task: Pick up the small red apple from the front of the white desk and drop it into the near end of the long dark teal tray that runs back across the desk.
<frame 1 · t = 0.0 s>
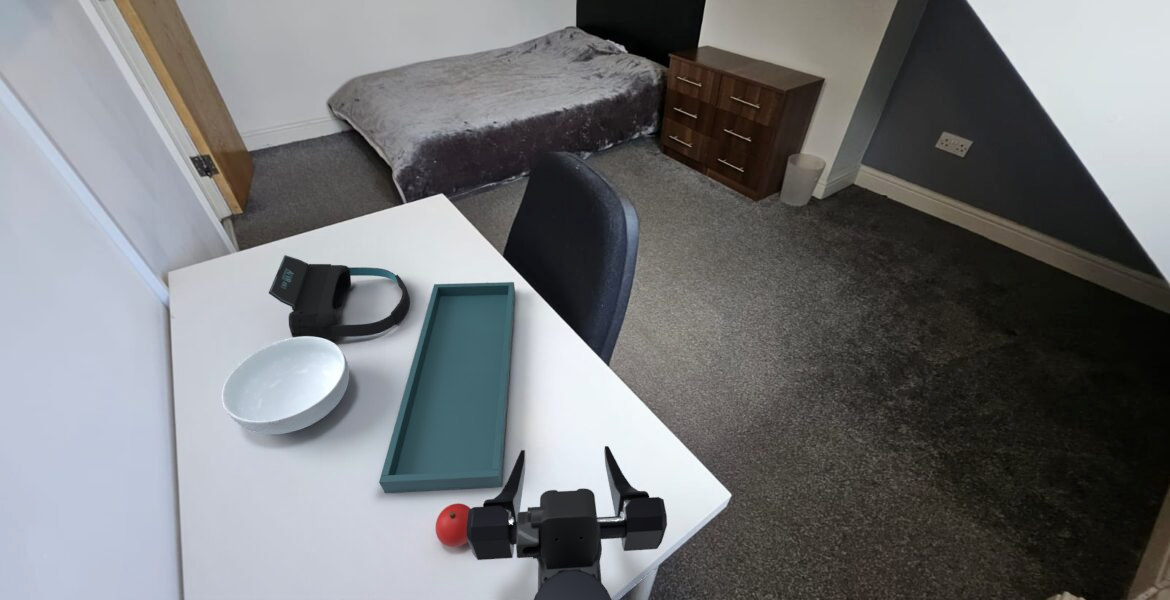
hand: (564, 449, 52), 17 cm above the table, tool horizontal, fingers open, 9 cm apart
tray: (462, 373, 81), on the table
virtual reality headset: (356, 311, 93), on the table
cereal bowl: (302, 403, 76), on the table
apple: (459, 533, 61), on the table
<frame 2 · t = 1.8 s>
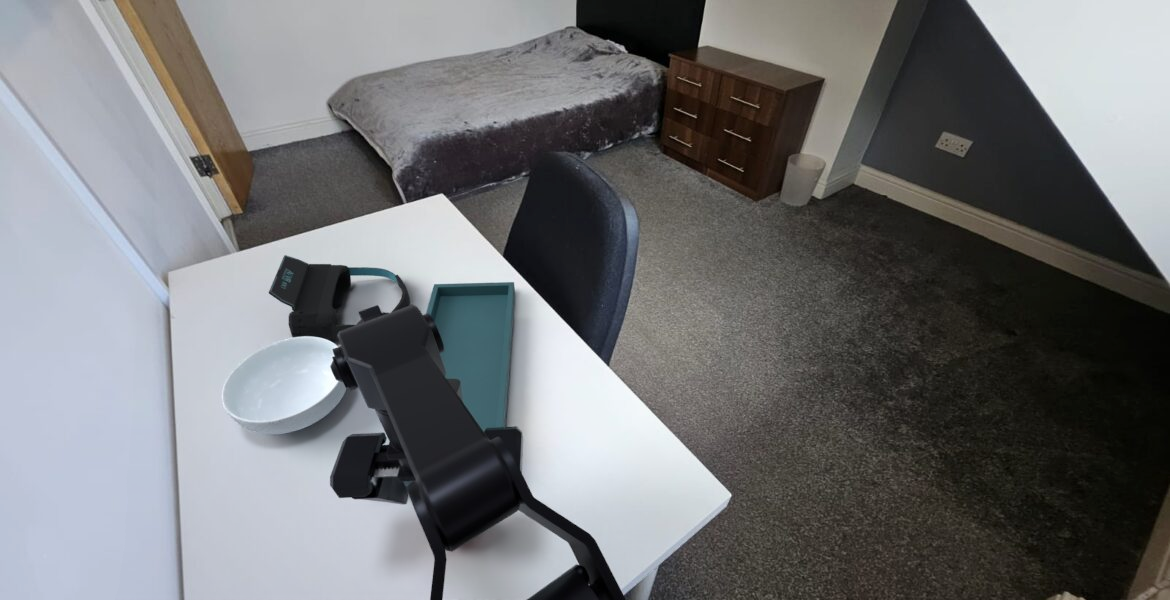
hand: (446, 497, 55), 10 cm above the table, tool pointing down, fingers open, 9 cm apart
nothing on the table moved.
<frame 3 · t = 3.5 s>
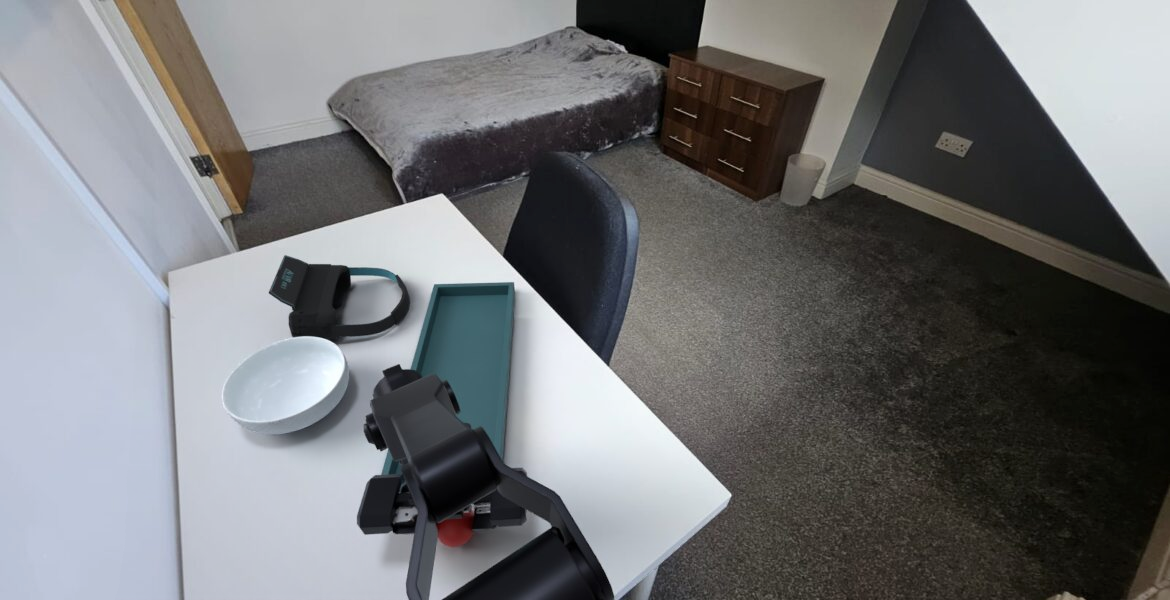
hand: (458, 529, 60), 1 cm above the table, tool pointing down, fingers closed on apple, 5 cm apart
apple: (459, 533, 61), on the table, touching gripper
everything else where it was.
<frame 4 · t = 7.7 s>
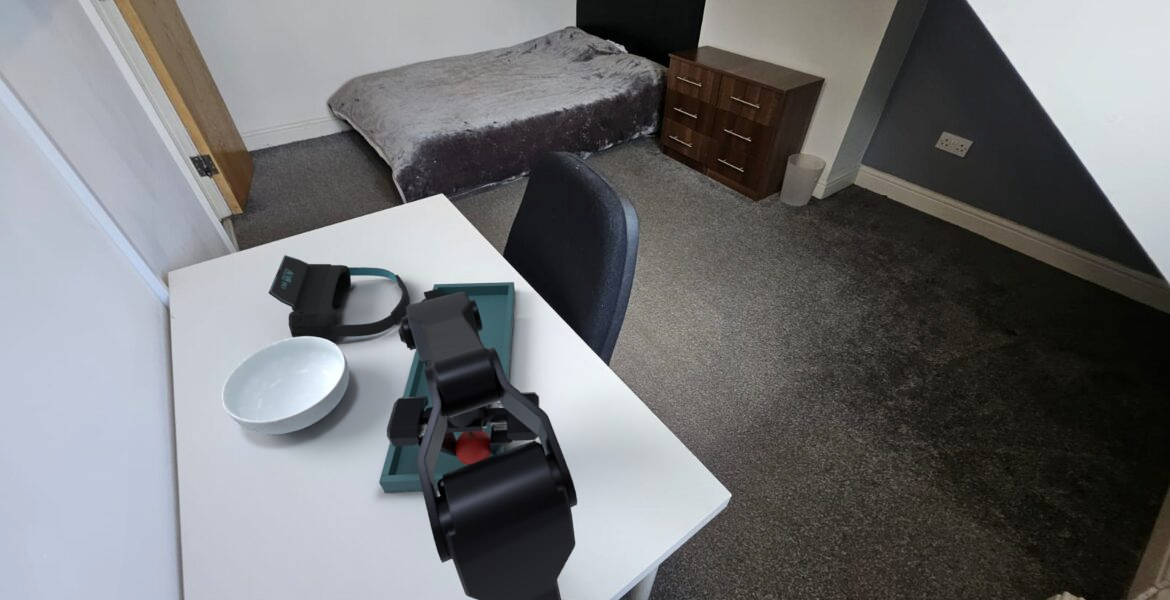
hand: (475, 452, 66), 3 cm above the table, tool pointing down, fingers closed on apple, 5 cm apart
apple: (476, 456, 67), point 2 cm above the table, touching gripper
everything else where it was.
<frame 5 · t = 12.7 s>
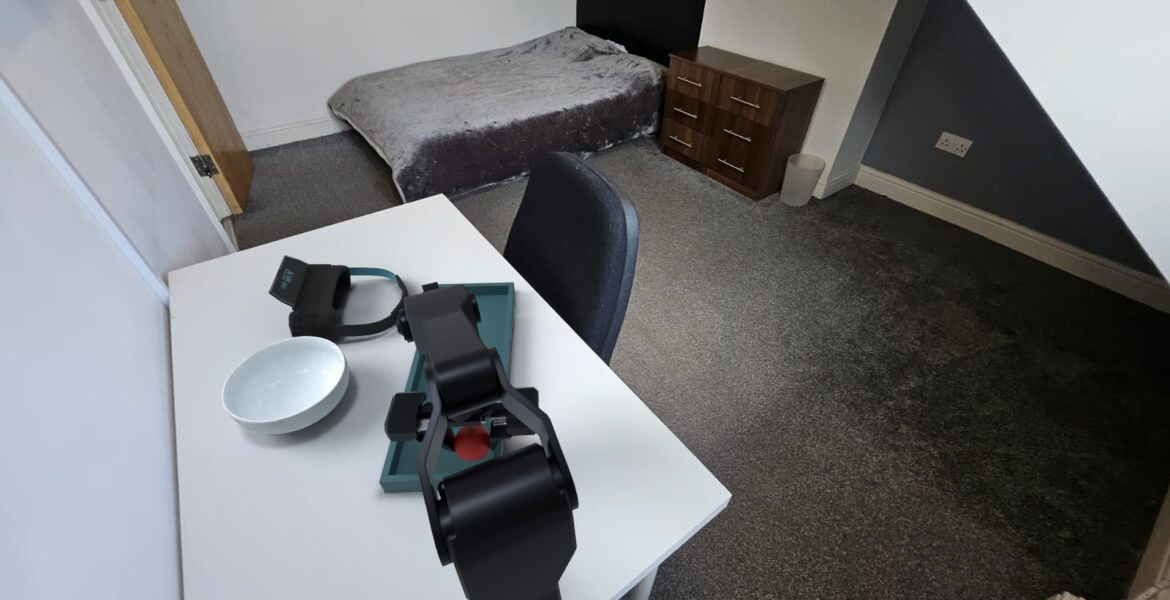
hand: (474, 448, 65), 4 cm above the table, tool pointing down, fingers closed on apple, 5 cm apart
apple: (475, 451, 66), point 3 cm above the table, touching gripper
everything else where it was.
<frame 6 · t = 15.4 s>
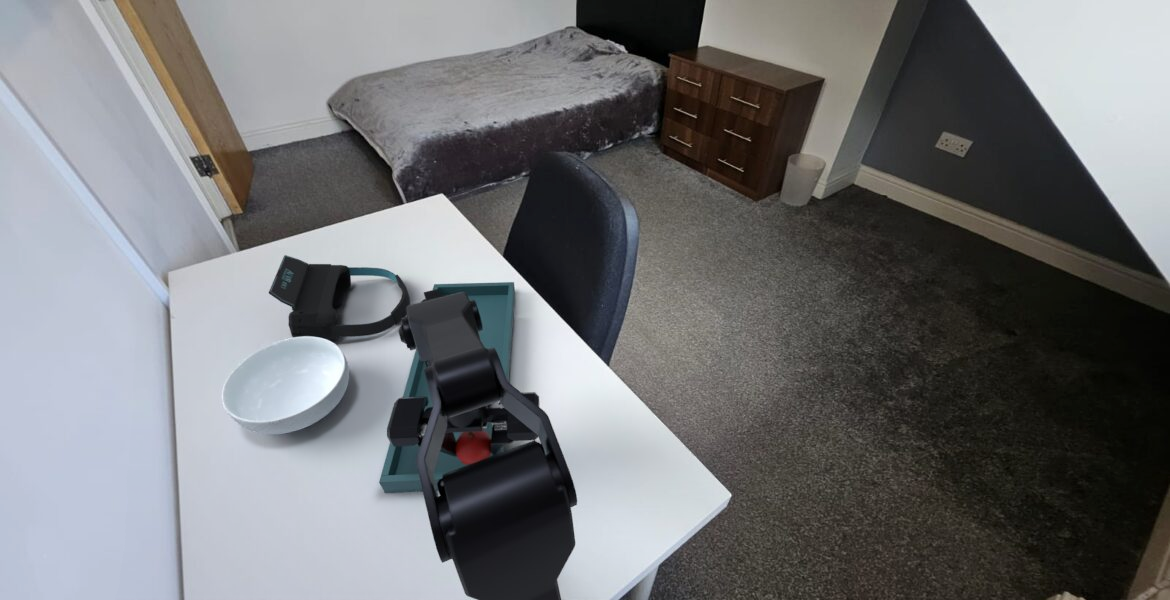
hand: (475, 452, 66), 3 cm above the table, tool pointing down, fingers closed on apple, 5 cm apart
apple: (476, 456, 67), point 2 cm above the table, touching gripper
everything else where it was.
when the fingers open (5 cm above the table, at t = 17.4 s): apple drops 3 cm, resting on tray.
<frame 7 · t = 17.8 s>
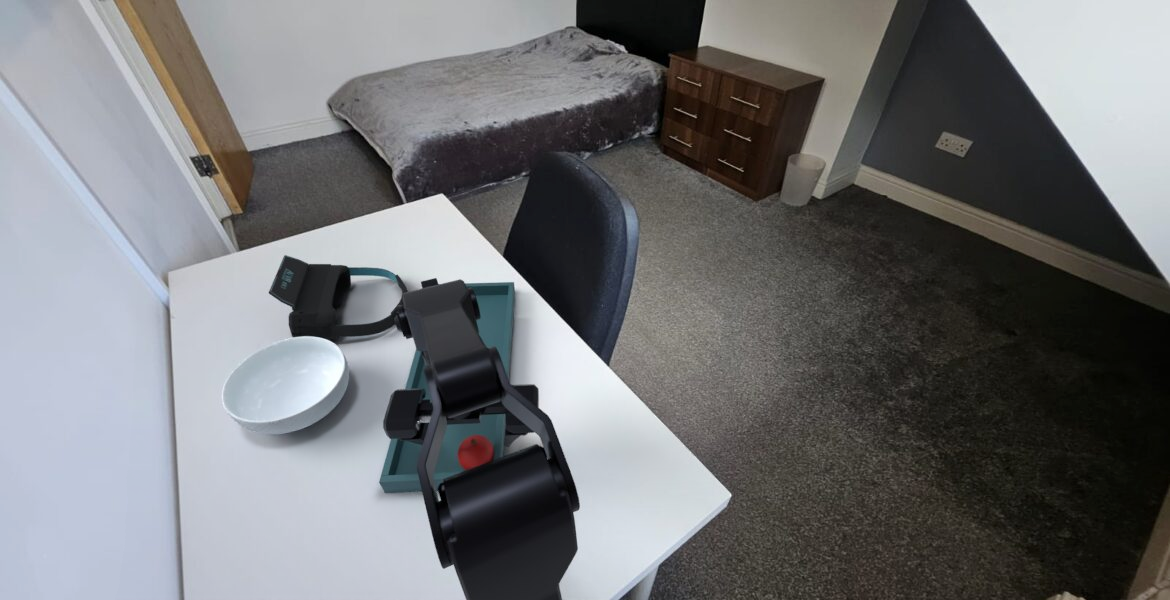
hand: (473, 445, 65), 5 cm above the table, tool pointing down, fingers open, 9 cm apart
apple: (478, 462, 68), resting on tray
everything else where it was.
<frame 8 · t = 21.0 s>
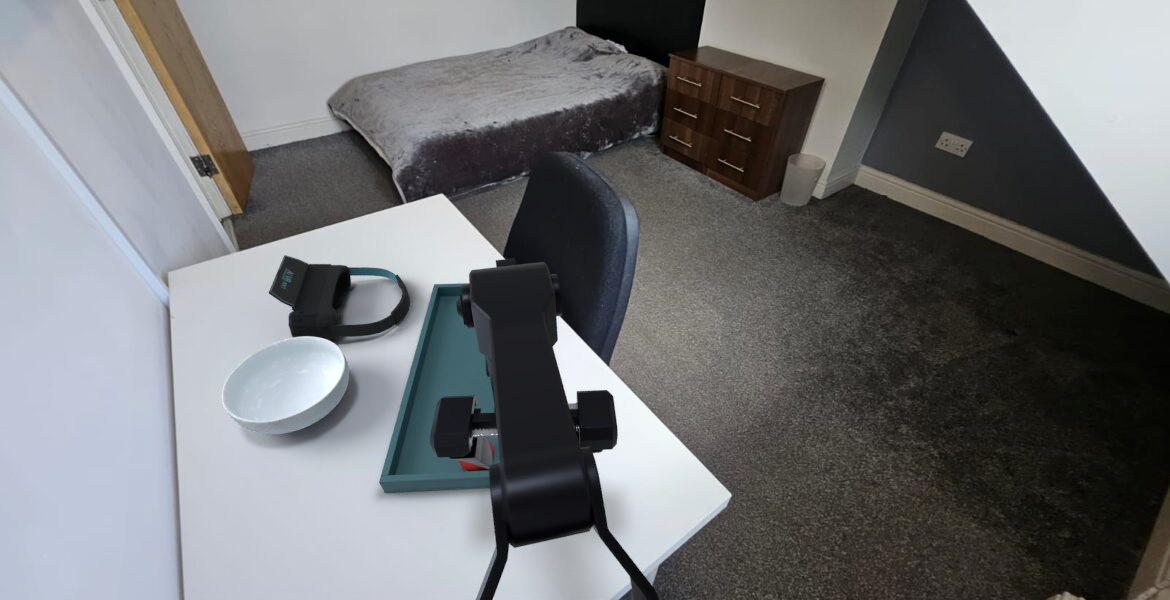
hand: (530, 463, 55), 13 cm above the table, tool pointing down, fingers open, 9 cm apart
nothing on the table moved.
at the end: apple inside the target area in the tray (18.0 cm from its centre), point 0.5 cm above the tray's base; the gripper is holding nothing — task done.
